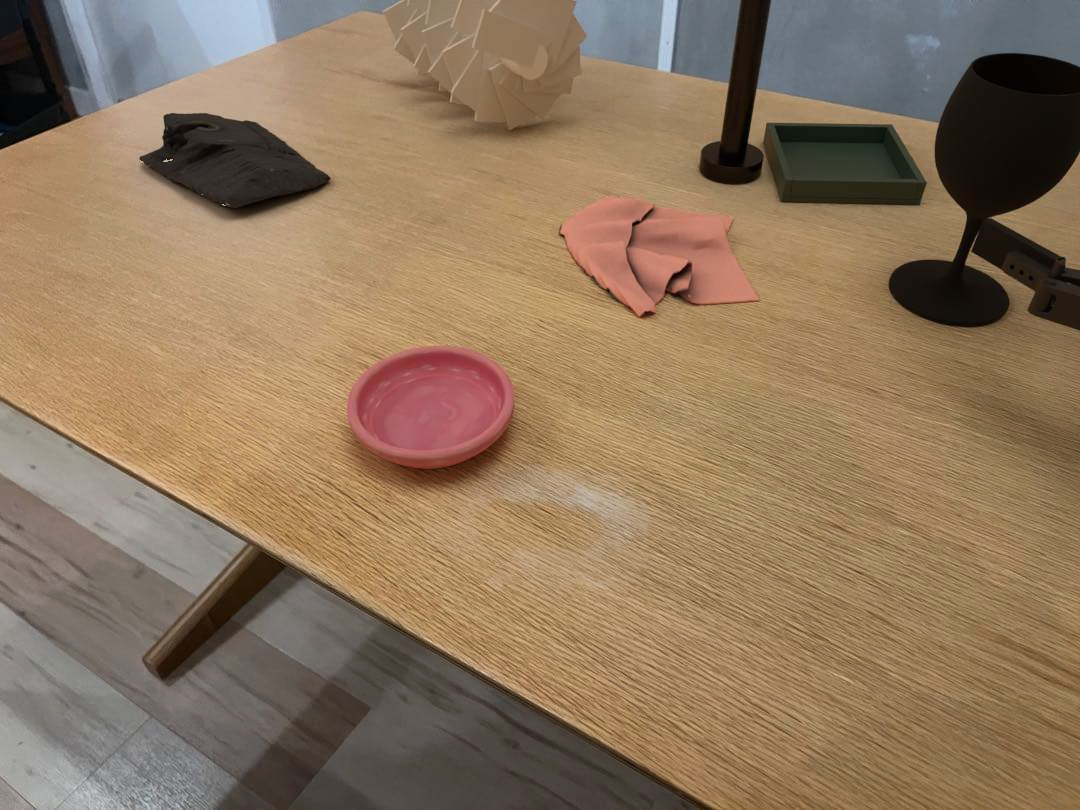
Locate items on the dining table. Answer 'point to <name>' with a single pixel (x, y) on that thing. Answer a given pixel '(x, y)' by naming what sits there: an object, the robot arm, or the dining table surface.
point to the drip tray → (842, 164)
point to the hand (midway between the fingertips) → (1042, 213)
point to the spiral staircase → (492, 52)
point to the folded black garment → (230, 160)
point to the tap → (740, 103)
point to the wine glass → (993, 172)
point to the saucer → (431, 406)
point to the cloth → (656, 253)
